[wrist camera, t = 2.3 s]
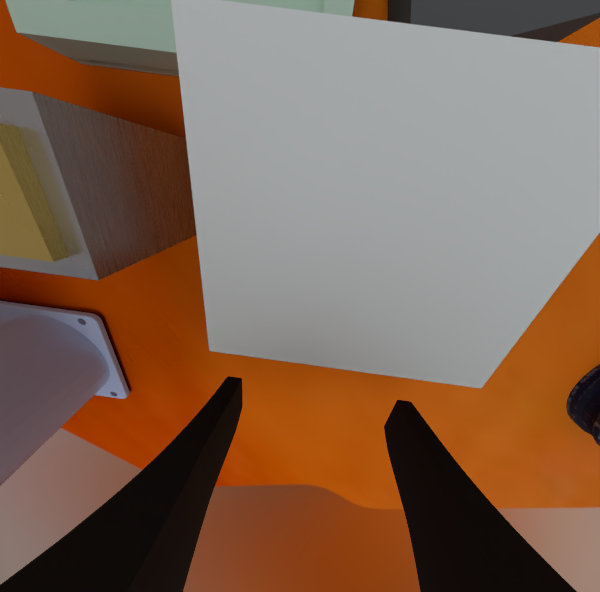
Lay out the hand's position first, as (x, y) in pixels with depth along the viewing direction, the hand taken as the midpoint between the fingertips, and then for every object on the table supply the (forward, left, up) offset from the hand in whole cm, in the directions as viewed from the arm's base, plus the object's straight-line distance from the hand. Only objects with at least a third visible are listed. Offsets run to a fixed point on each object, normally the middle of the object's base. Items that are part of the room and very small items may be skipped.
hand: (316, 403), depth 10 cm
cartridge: (-9, +8, -4) cm, 13 cm away
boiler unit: (0, +8, -4) cm, 9 cm away
